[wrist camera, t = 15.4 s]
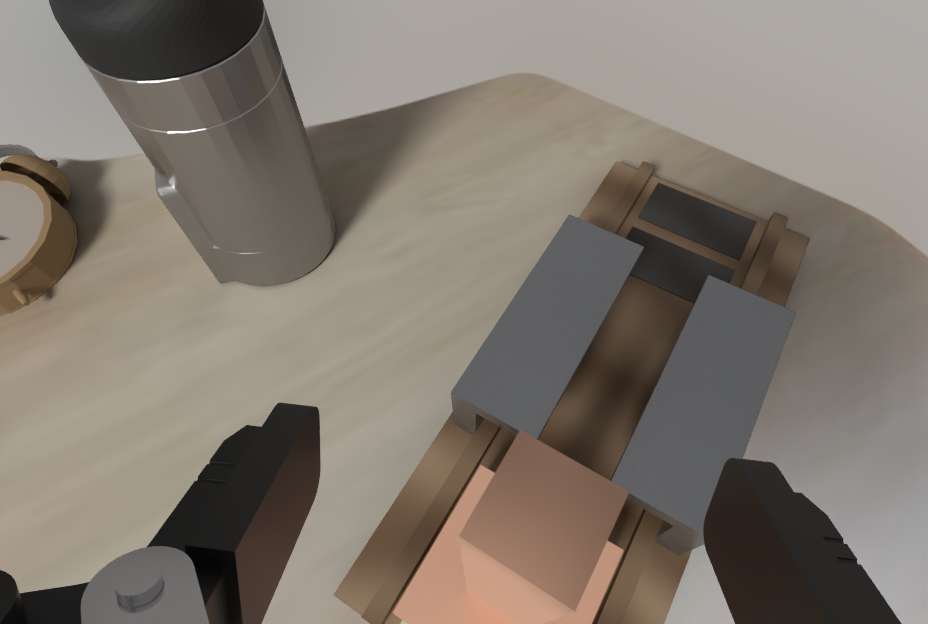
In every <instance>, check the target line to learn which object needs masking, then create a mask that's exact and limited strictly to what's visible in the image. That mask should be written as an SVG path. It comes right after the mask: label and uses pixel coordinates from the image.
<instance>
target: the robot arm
mask: <svg viewBox="0 0 928 624" xmlns="http://www.w3.org/2000/svg"><path fill="white" fill-rule="evenodd" d="M49 3H50V6H51V9H52V12H53V14H54V16H55V19H56V20H57V22H58V24H59V25H60V27H61V29H62V30H63V32H64V33H65V35H66V36H67V38H68V39H69V41H70V42H71V44H72V45H73V46H74V48H75V50H76V51H77V53H78V54H79V56H80V57H81V58H82V60H83V61H84V63H85V65H86V66H87V68H88V69H89V70H90V72H91V73H92V75H93V77H94V78H95V80H96V81H97V83H98V84H99V85H100V87H101V89H102V90H103V91H104V93H105V95H106V96H107V97H108V99H109V101H110V102H111V104H112V105H113V107H114V108H115V109H116V111H117V112H118V114H119V115H120V117H121V118H122V120H123V121H124V123H125V124H126V126H127V127H128V129H129V130H130V132H131V133H132V135H133V136H134V138H135V139H136V141H137V142H138V144H139V145H140V147H141V148H142V150H143V151H144V153H145V154H146V156H147V157H148V159H149V160H150V162H151V163H152V165H153V166H154V168H155V180H156V190H157V193H158V195H159V197H160V199H161V200H162V202H163V203H164V204H165V206H166V207H167V209H168V210H169V212H170V213H171V214H172V216H173V217H174V219H175V220H176V222H177V223H178V224H179V226H180V227H181V229H182V230H183V232H184V233H185V235H186V236H187V237H188V239H189V240H190V242H191V243H192V245H193V246H194V247H195V249H196V250H197V252H198V253H199V255H200V256H201V257H202V259H203V260H204V262H205V263H206V265H207V266H208V267H209V269H210V270H211V272H212V273H213V275H214V276H215V277H216V279H217V280H218V282H219V283H225V282H229V281H239V282H243V283H246V284H250V285H257V286H271V285H279V284H283V283H287V282H290V281H293V280H295V279H297V278H300V277H302V276H304V275H305V274H307V273H308V272H310V271H311V270H313V269H314V268H316V267H317V266H318V265H319V264H320V263H321V262H322V261H323V260H324V258H325V257H326V256H327V254H328V253H329V251H330V250H331V247H332V245H333V242H334V240H335V233H336V226H335V220H334V217H333V214H332V210H331V206H330V203H329V199H328V197H327V195H326V192H325V189H324V186H323V183H322V180H321V177H320V174H319V171H318V167H317V164H316V161H315V158H314V155H313V152H312V149H311V146H310V143H309V140H308V137H307V134H306V131H305V128H304V125H303V122H302V119H301V116H300V113H299V110H298V107H297V104H296V101H295V98H294V95H293V92H292V89H291V85H290V83H289V79H288V76H287V73H286V70H285V67H284V64H283V61H282V58H281V55H280V52H279V49H278V46H277V43H276V40H275V37H274V34H273V31H272V28H271V25H270V22H269V18H268V16H267V12H266V9H265V7H264V3H263V0H49ZM319 478H320V421H319V410H318V408H317V407H312V406H304V405H295V404H287V403H278V404H277V405H276V406H275V407H274V409H273V410H272V412H271V413H270V415H269V416H268V418H267V419H266V421H265V423H264V424H263V426H262V427H258V426H250V425H246V426H245V427H243V428H242V429H241V430H239V431H238V432H236V433H235V434H233V435H232V436H230V437H229V438H227V439H226V440H224V442H223V443H222V444H221V446H220V447H219V448H218V450H217V451H216V453H215V454H214V455H213V457H212V458H211V459H210V463H209V464H207V465H206V466H205V468H204V469H203V471H202V472H201V473H200V475H199V476H198V480H197V481H195V482H194V483H193V484H192V486H191V487H190V488H189V490H188V491H187V493H186V494H185V495H184V497H183V498H182V500H181V501H180V502H179V504H178V505H177V506H176V508H175V509H174V511H173V512H172V513H171V515H170V516H169V517H168V519H167V520H166V522H165V523H164V524H163V526H162V527H161V529H160V530H159V531H158V533H157V534H156V535H155V537H154V538H153V540H152V541H151V542H150V544H149V545H148V546H147V547H146V548H142V549H138V550H134V551H132V552H129V553H127V554H124V555H122V556H121V557H119V558H117V559H115V560H113V561H112V562H110V563H109V564H107V565H106V566H105V567H104V568H103V569H101V570H100V571H99V572H98V573H97V574H96V575H95V576H94V577H93V578H92V580H91V581H90V582H88V583H83V584H78V585H72V586H66V587H59V588H52V589H46V590H39V591H33V592H26V593H20V594H19V591H18V588H17V585H16V582H15V580H14V579H13V578H12V576H11V575H9V574H8V573H6V572H4V571H1V570H0V624H261V623H262V621H263V618H264V616H265V614H266V611H267V609H268V607H269V604H270V602H271V600H272V597H273V595H274V593H275V590H276V588H277V586H278V583H279V581H280V579H281V576H282V574H283V572H284V569H285V567H286V565H287V562H288V560H289V558H290V555H291V553H292V551H293V548H294V546H295V544H296V541H297V539H298V537H299V534H300V532H301V530H302V527H303V525H304V523H305V520H306V518H307V516H308V513H309V511H310V509H311V506H312V504H313V502H314V499H315V496H316V493H317V489H318V484H319ZM703 536H704V543H705V548H706V551H707V554H708V556H709V559H710V561H711V564H712V566H713V569H714V571H715V574H716V576H717V579H718V581H719V584H720V586H721V589H722V592H723V594H724V597H725V599H726V602H727V604H728V607H729V609H730V612H731V614H732V617H733V619H734V622H735V624H901V622H900V621H899V620H898V618H897V617H896V615H895V614H894V612H893V611H892V609H891V608H890V606H889V605H888V604H887V602H886V601H885V599H884V598H883V596H882V595H881V593H880V592H879V590H878V589H877V587H876V586H875V585H874V583H873V582H872V580H871V579H870V577H869V576H868V574H867V573H866V571H865V570H864V569H863V567H862V566H861V565H859V564H857V558H856V557H855V555H854V554H853V552H852V551H851V550H850V548H849V547H848V545H847V544H844V543H843V538H842V536H841V535H840V534H839V532H838V531H837V529H836V528H835V526H834V525H833V523H832V522H831V520H830V519H829V518H828V516H827V515H826V514H825V513H824V512H823V511H821V510H820V509H819V508H818V507H817V506H816V505H815V504H813V503H812V502H811V501H810V500H809V499H808V498H807V497H805V496H804V495H803V494H802V493H795V492H793V490H792V489H791V487H790V486H789V484H788V483H787V481H786V479H785V478H784V476H783V475H782V473H781V472H780V470H779V469H778V467H777V466H776V465H775V464H773V463H771V462H763V461H755V460H746V459H738V458H730V459H728V460H727V461H726V463H725V464H724V467H723V469H722V472H721V475H720V477H719V480H718V483H717V486H716V488H715V491H714V494H713V496H712V499H711V502H710V505H709V507H708V510H707V513H706V516H705V520H704V527H703Z"/></svg>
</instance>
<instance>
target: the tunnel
mask: <svg viewBox="0 0 928 624" xmlns="http://www.w3.org/2000/svg"><path fill="white" fill-rule="evenodd" d="M643 249H644V247H643V246H641V245H639V244H636V243H634V242H632V241H629V240H627V239H625V238H623V237H620V236H618V235H616V234H613V233H611V232H609V231H606V230H604V229H602V228H599V227H597V226H595V225H593V224H590V223H588V222H586V221H583V220H581V219H579V218H576V217H574V216H572V215H569V216H568V217H567V219H566V220H565V222H564V223H563V225H562V226H561V228H560V229H559V231H558V232H557V234H556V235H555V237H554V238H553V240H552V241H551V243H550V244H549V246H548V247H547V249H546V250H545V252H544V253H543V255H542V256H541V258H540V259H539V261H538V262H537V264H536V265H535V267H534V268H533V270H532V271H531V273H530V274H529V276H528V277H527V279H526V280H525V282H524V283H523V285H522V286H521V288H520V289H519V291H518V292H517V294H516V295H515V297H514V298H513V300H512V301H511V303H510V304H509V306H508V307H507V309H506V310H505V312H504V313H503V315H502V316H501V318H500V319H499V321H498V322H497V324H496V325H495V327H494V328H493V330H492V331H491V333H490V334H489V336H488V337H487V339H486V340H485V342H484V343H483V345H482V346H481V348H480V349H479V351H478V352H477V354H476V355H475V357H474V358H473V360H472V361H471V363H470V364H469V366H468V367H467V369H466V370H465V372H464V373H463V375H462V376H461V378H460V379H459V381H458V383H457V384H456V386H455V387H454V389H453V390H452V392H451V397H452V408H453V418H454V425H455V426H457V427H459V428H460V429H462V430H464V431H466V432H467V433H469V434H471V435H472V436H473V435H474V434H475V432H476V430H477V429H478V427H479V426H480V424H481V422H482V421H483V419H484V418H485V419H487V420H489V421H490V422H492V423H494V424H496V425H497V426H499V427H501V428H503V429H504V430H506V431H508V432H510V433H511V434H513V435H515V436H517V434H518V433H519V431H520V430H521V431H523V432H525V433H527V434H528V435H530V436H532V437H534V438H535V439H537V440H538V439H539V437H540V435H541V434H542V432H543V430H544V428H545V426H546V425H547V423H548V421H549V419H550V417H551V416H552V414H553V412H554V410H555V408H556V407H557V405H558V403H559V401H560V400H561V398H562V396H563V394H564V392H565V391H566V389H567V387H568V385H569V383H570V382H571V380H572V378H573V376H574V374H575V373H576V371H577V369H578V367H579V365H580V364H581V362H582V360H583V358H584V356H585V355H586V353H587V351H588V349H589V347H590V346H591V344H592V342H593V340H594V339H595V337H596V335H597V333H598V331H599V330H600V328H601V326H602V324H603V322H604V321H605V319H606V317H607V315H608V313H609V312H610V310H611V308H612V306H613V304H614V303H615V301H616V299H617V297H618V295H619V294H620V292H621V290H622V288H623V286H624V285H625V283H626V281H627V279H628V278H629V276H630V274H631V272H632V270H633V269H634V267H635V265H636V263H637V261H638V260H639V258H640V256H641V253H642V251H643ZM795 313H796V312H793V311H791V310H789V309H786V308H784V307H782V306H779V305H777V304H775V303H773V302H770V301H768V300H766V299H763V298H761V297H759V296H756V295H754V294H752V293H749V292H747V291H745V290H743V289H740V288H738V287H736V286H733V285H731V284H729V283H726V282H724V281H722V280H719V279H717V278H715V277H713V276H710V275H708V277H707V278H706V280H705V282H704V283H703V285H702V287H701V289H700V291H699V293H698V295H697V298H696V300H695V302H694V304H693V306H692V308H691V310H690V312H689V314H688V317H687V319H686V321H685V323H684V325H683V327H682V329H681V331H680V333H679V335H678V338H677V340H676V342H675V344H674V346H673V348H672V350H671V352H670V354H669V357H668V359H667V361H666V363H665V365H664V367H663V369H662V371H661V373H660V376H659V378H658V380H657V382H656V384H655V386H654V388H653V390H652V392H651V394H650V397H649V399H648V401H647V403H646V405H645V407H644V409H643V411H642V413H641V416H640V418H639V420H638V422H637V424H636V426H635V428H634V430H633V432H632V435H631V437H630V439H629V441H628V443H627V445H626V447H625V449H624V451H623V453H622V456H621V458H620V460H619V462H618V464H617V466H616V468H615V470H614V472H613V475H612V477H611V479H610V481H611V482H613V483H615V484H617V485H618V486H620V487H622V488H624V489H626V490H627V491H629V494H628V496H627V498H626V499H627V500H629V501H631V502H632V503H634V504H636V505H638V506H639V507H641V508H643V509H645V510H646V511H648V512H650V513H652V514H653V515H655V516H657V517H659V518H660V519H662V520H664V521H663V523H662V526H661V528H660V531H659V533H658V535H657V538H656V540H655V543H657V544H659V545H661V546H662V547H664V548H666V549H667V550H669V551H671V552H673V553H674V554H676V555H678V556H679V555H682V554H684V553H686V552H688V551H690V550H693V549H695V548H697V547H699V546H701V545H703V544H705V543H704V536H703V527H704V520H705V516H706V513H707V510H708V507H709V505H710V502H711V499H712V496H713V494H714V491H715V488H716V486H717V483H718V480H719V477H720V475H721V472H722V469H723V467H724V464H725V463H726V461H727V460H728V459H730V458H738V459H742V458H743V455H744V453H745V450H746V447H747V444H748V442H749V439H750V436H751V434H752V431H753V428H754V425H755V423H756V420H757V417H758V414H759V412H760V409H761V406H762V403H763V401H764V398H765V395H766V392H767V390H768V387H769V384H770V382H771V379H772V376H773V373H774V371H775V368H776V365H777V362H778V360H779V357H780V354H781V351H782V349H783V346H784V343H785V340H786V338H787V335H788V332H789V330H790V327H791V324H792V321H793V319H794V316H795Z"/></svg>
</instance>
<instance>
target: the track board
mask: <svg viewBox="0 0 928 624" xmlns="http://www.w3.org/2000/svg"><path fill="white" fill-rule="evenodd" d="M654 168H655V166H654V165H651V164H649V163H646V162H644V161H643V162H642V164H641V165H640V167H639V169H638V170H637V169H634V168H631V167H629V166H626V165H624V164H621V163H619V162H615V164H614V165H613V167H612V168H611V170H610V171H609V173H608V174H607V176H606V177H605V179H604V180H603V182H602V184H601V185H600V187H599V188H598V190H597V191H596V193H595V194H594V196H593V197H592V199H591V200H590V202H589V204H588V205H587V207H586V208H585V210H584V211H583V213H582V214H581V216H580V217H579V219H581V220H583V221H586V222H588V223H590V224H593V225H595V226H597V227H599V228H602V229H604V230H606V231H609V232H611V233H613V234H616V235H618V236H620V237H623V238H625V239H627V240H629V241H632V242H634V243H636V244H639V245H641V246H643V247H644V249H643V251H642V253H641V256H640V258H639V260H638V261H637V263H636V265H635V267H634V269H633V270H632V272H631V274H630V276H629V278H628V279H627V281H626V283H625V285H624V286H623V288H622V290H621V292H620V294H619V295H618V297H617V299H616V301H615V303H614V304H613V306H612V308H611V310H610V312H609V313H608V315H607V317H606V319H605V321H604V322H603V324H602V326H601V328H600V330H599V331H598V333H597V335H596V337H595V339H594V340H593V342H592V344H591V346H590V347H589V349H588V351H587V353H586V355H585V356H584V358H583V360H582V362H581V364H580V365H579V367H578V369H577V371H576V373H575V374H574V376H573V378H572V380H571V382H570V383H569V385H568V387H567V389H566V391H565V392H564V394H563V396H562V398H561V400H560V401H559V403H558V405H557V407H556V408H555V410H554V412H553V414H552V416H551V417H550V419H549V421H548V423H547V425H546V426H545V428H544V430H543V432H542V434H541V435H540V437H539V439H538V440H539V441H541V442H543V443H544V444H546V445H548V446H550V447H551V448H553V449H555V450H557V451H558V452H560V453H562V454H564V455H565V456H567V457H569V458H571V459H573V460H574V461H576V462H578V463H580V464H581V465H583V466H585V467H587V468H588V469H590V470H592V471H594V472H596V473H597V474H599V475H601V476H603V477H604V478H606V479H608V480H610V479H611V477H612V475H613V472H614V470H615V468H616V466H617V464H618V462H619V460H620V458H621V456H622V453H623V451H624V449H625V447H626V445H627V443H628V441H629V439H630V437H631V435H632V432H633V430H634V428H635V426H636V424H637V422H638V420H639V418H640V416H641V413H642V411H643V409H644V407H645V405H646V403H647V401H648V399H649V397H650V394H651V392H652V390H653V388H654V386H655V384H656V382H657V380H658V378H659V376H660V373H661V371H662V369H663V367H664V365H665V363H666V361H667V359H668V357H669V354H670V352H671V350H672V348H673V346H674V344H675V342H676V340H677V338H678V335H679V333H680V331H681V329H682V327H683V325H684V323H685V321H686V319H687V317H688V314H689V312H690V310H691V308H692V306H693V304H694V302H695V300H696V298H697V295H698V293H699V291H700V289H701V287H702V285H703V283H704V282H705V280H706V278H707V277H708V275H710V276H713V277H715V278H717V279H719V280H722V281H724V282H726V283H729V284H731V285H733V286H736V287H738V288H740V289H743V290H745V291H747V292H749V293H752V294H754V295H756V296H759V297H761V298H763V299H766V300H768V301H770V302H773V303H775V304H777V305H779V306H782V307H784V306H785V303H786V301H787V298H788V295H789V293H790V290H791V287H792V285H793V282H794V280H795V277H796V274H797V272H798V269H799V266H800V264H801V261H802V258H803V256H804V253H805V251H806V248H807V245H808V243H809V240H810V238H809V237H806V236H804V235H801V234H799V233H796V232H794V231H791V230H789V229H786V228H785V225H786V223H787V221H788V217H785V216H783V215H780V214H777V213H775V212H774V214H773V215H772V217H771V218H770V220H769V221H766V220H763V219H761V218H758V217H756V216H753V215H751V214H748V213H746V212H743V211H741V210H738V209H735V208H733V207H730V206H728V205H725V204H723V203H720V202H718V201H715V200H713V199H710V198H708V197H705V196H702V195H700V194H697V193H695V192H692V191H690V190H687V189H685V188H682V187H680V186H677V185H675V184H672V183H670V182H667V181H664V180H662V179H659V178H657V177H654V176H652V174H653V171H654ZM515 438H516V436H515V435H513V434H511V433H510V432H508V431H506V430H504V429H503V428H501V427H499V426H497V425H496V424H494V423H492V422H490V421H489V420H487V419H485V418H484V419H483V421H482V422H481V424H480V426H479V427H478V429H477V430H476V432H475V434H474V435H473V436H472V435H471V434H469V433H467V432H466V431H464V430H462V429H460V428H459V427H457V426H455V425H454V418H453V412H452V414H451V415H450V417H449V418H448V420H447V422H446V423H445V425H444V426H443V428H442V429H441V431H440V432H439V434H438V435H437V437H436V438H435V440H434V441H433V443H432V445H431V446H430V448H429V449H428V451H427V452H426V454H425V455H424V457H423V458H422V460H421V461H420V463H419V465H418V466H417V468H416V469H415V471H414V472H413V474H412V475H411V477H410V478H409V480H408V481H407V483H406V484H405V486H404V488H403V489H402V491H401V492H400V494H399V495H398V497H397V498H396V500H395V501H394V503H393V504H392V506H391V508H390V509H389V511H388V512H387V514H386V515H385V517H384V518H383V520H382V521H381V523H380V524H379V526H378V527H377V529H376V531H375V532H374V534H373V535H372V537H371V538H370V540H369V541H368V543H367V544H366V546H365V547H364V549H363V550H362V552H361V554H360V555H359V557H358V558H357V560H356V561H355V563H354V564H353V566H352V567H351V569H350V570H349V572H348V574H347V575H346V577H345V578H344V580H343V581H342V583H341V584H340V586H339V587H338V589H337V590H336V592H335V593H334V596H336V597H337V598H338V599H340V600H341V601H342V602H344V603H345V604H347V605H348V606H349V607H351V608H352V609H353V610H355V611H356V612H357V613H359V614H360V615H362V616H361V617H362V618H364V619H365V620H366V621H368V622H369V623H370V624H407V623H406V622H405V621H403V620H402V619H400V618H399V617H398V616H396V615H395V614H393V611H394V609H395V608H396V606H397V604H398V603H399V601H400V599H401V598H402V596H403V594H404V593H405V591H406V589H407V588H408V586H409V584H410V583H411V581H412V579H413V577H414V576H415V574H416V572H417V571H418V569H419V567H420V566H421V564H422V562H423V561H424V559H425V557H426V556H427V554H428V552H429V551H430V549H431V547H432V546H433V544H434V542H435V541H436V539H437V537H438V536H439V534H440V532H441V530H442V529H443V527H444V525H445V524H446V522H447V520H448V519H449V517H450V515H451V514H452V512H453V510H454V509H455V507H456V505H457V504H458V502H459V500H460V499H461V497H462V495H463V494H464V492H465V490H466V489H467V487H468V485H469V484H470V482H471V480H472V478H473V477H474V475H475V473H476V472H477V470H478V468H479V467H480V465H482V466H484V467H485V468H487V469H489V470H491V471H492V472H494V473H495V472H496V471H497V469H498V467H499V465H500V464H501V462H502V460H503V459H504V457H505V455H506V453H507V452H508V450H509V448H510V446H511V445H512V443H513V441H514V440H515ZM663 521H664V520H662V519H660V518H659V517H657V516H655V515H653V514H652V513H650V512H648V511H646V510H645V509H643V508H641V507H639V506H638V505H636V504H634V503H632V502H631V501H629V500H627V499H626V501H625V503H624V505H623V507H622V509H621V512H620V514H619V516H618V518H617V520H616V523H615V525H614V527H613V529H612V531H611V534H610V536H609V538H608V540H607V541H609V542H611V543H612V544H614V545H616V546H617V547H619V548H621V549H622V550H624V551H623V553H622V555H621V558H620V560H619V562H618V565H617V567H616V569H615V571H614V574H613V576H612V578H611V581H610V583H609V585H608V587H607V590H606V592H605V594H604V597H603V599H602V601H601V604H600V606H599V608H598V610H597V613H596V615H595V617H594V620H593V622H592V624H664V622H665V619H666V617H667V614H668V612H669V609H670V606H671V604H672V601H673V598H674V596H675V593H676V590H677V588H678V585H679V583H680V580H681V577H682V575H683V572H684V569H685V567H686V564H687V561H688V559H689V556H690V554H691V551H692V550H690V551H688V552H686V553H684V554H682V555H679V556H678V555H676V554H674V553H673V552H671V551H669V550H667V549H666V548H664V547H662V546H661V545H659V544H657V543H655V540H656V538H657V535H658V533H659V531H660V528H661V526H662V523H663Z"/></svg>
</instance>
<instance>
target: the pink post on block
mask: <svg viewBox="0 0 928 624" xmlns="http://www.w3.org/2000/svg"><path fill="white" fill-rule="evenodd" d="M628 494H629V491H627V490H626V489H624V488H622V487H620V486H618V485H617V484H615V483H613V482H611V481H610V480H608V479H606V478H604V477H603V476H601V475H599V474H597V473H596V472H594V471H592V470H590V469H588V468H587V467H585V466H583V465H581V464H580V463H578V462H576V461H574V460H573V459H571V458H569V457H567V456H565V455H564V454H562V453H560V452H558V451H557V450H555V449H553V448H551V447H550V446H548V445H546V444H544V443H543V442H541V441H539V440H537V439H535V438H534V437H532V436H530V435H528V434H527V433H525V432H523V431H521V430H520V431H519V433H518V434H517V436H516V438H515V440H514V441H513V443H512V445H511V446H510V448H509V450H508V452H507V453H506V455H505V457H504V459H503V460H502V462H501V464H500V465H499V467H498V469H497V471H496V472H495V473H494V472H492V471H491V470H489V469H487V468H485V467H484V466H482V465H480V467H479V468H478V470H477V472H476V473H475V475H474V477H473V478H472V480H471V482H470V484H469V485H468V487H467V489H466V490H465V492H464V494H463V495H462V497H461V499H460V500H459V502H458V504H457V505H456V507H455V509H454V510H453V512H452V514H451V515H450V517H449V519H448V520H447V522H446V524H445V525H444V527H443V529H442V530H441V532H440V534H439V536H438V537H437V539H436V541H435V542H434V544H433V546H432V547H431V549H430V551H429V552H428V554H427V556H426V557H425V559H424V561H423V562H422V564H421V566H420V567H419V569H418V571H417V572H416V574H415V576H414V577H413V579H412V581H411V583H410V584H409V586H408V588H407V589H406V591H405V593H404V594H403V596H402V598H401V599H400V601H399V603H398V604H397V606H396V608H395V609H394V611H393V614H395V615H396V616H398V617H399V618H400V619H402V620H403V621H405V622H406V623H407V624H592V622H593V620H594V617H595V615H596V613H597V610H598V608H599V606H600V604H601V601H602V599H603V597H604V594H605V592H606V590H607V587H608V585H609V583H610V581H611V578H612V576H613V574H614V571H615V569H616V567H617V565H618V562H619V560H620V558H621V555H622V553H623V551H624V550H622V549H621V548H619V547H617V546H616V545H614V544H612V543H611V542H609V541H607V540H608V538H609V536H610V534H611V531H612V529H613V527H614V525H615V523H616V520H617V518H618V516H619V514H620V512H621V509H622V507H623V505H624V503H625V501H626V498H627V496H628Z"/></svg>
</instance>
